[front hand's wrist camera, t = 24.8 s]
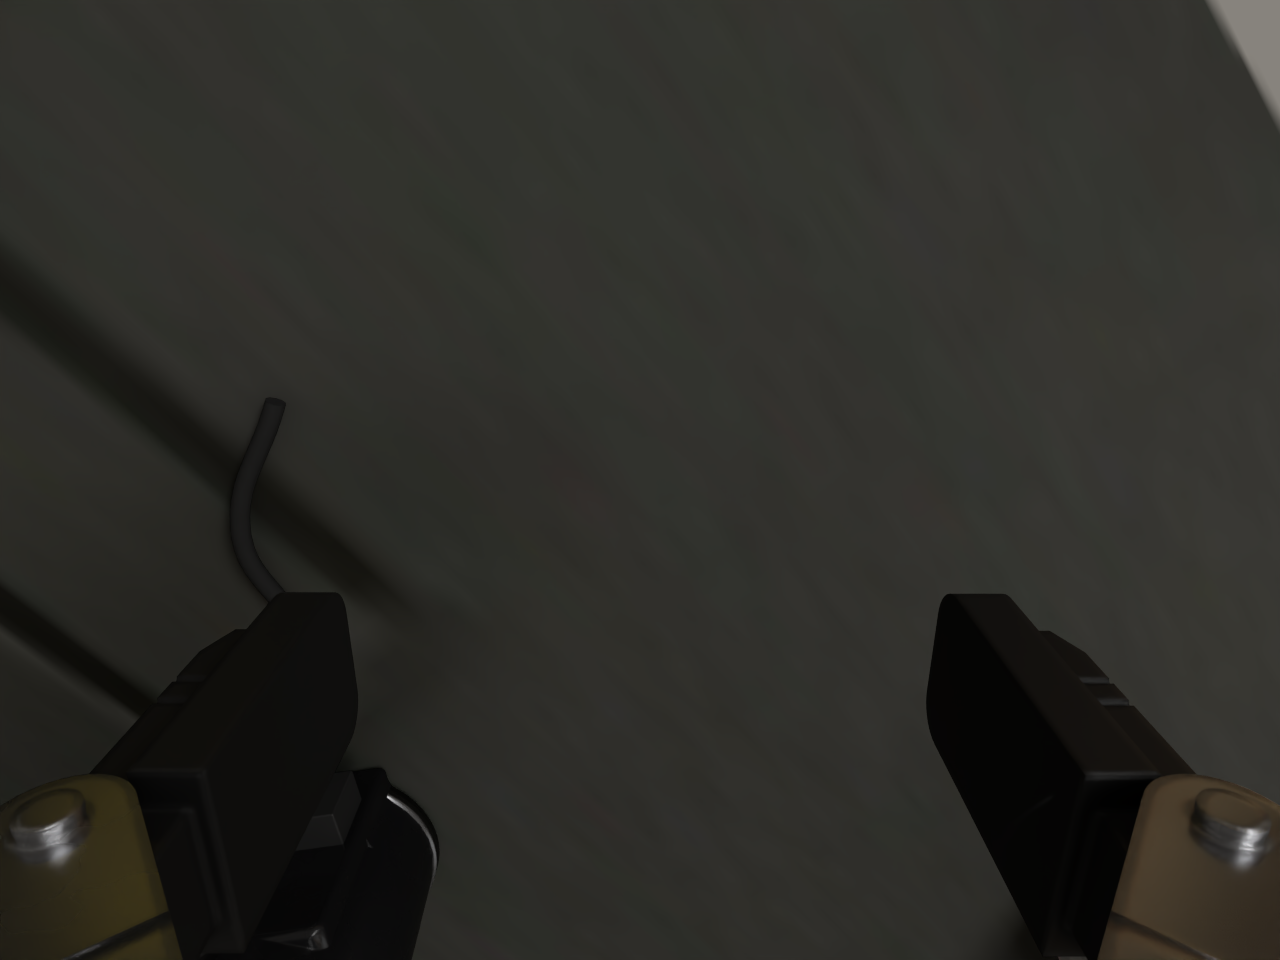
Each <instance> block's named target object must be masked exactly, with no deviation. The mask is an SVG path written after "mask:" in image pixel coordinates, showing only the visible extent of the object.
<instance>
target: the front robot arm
mask: <svg viewBox="0 0 1280 960" xmlns="http://www.w3.org/2000/svg"><path fill="white" fill-rule="evenodd" d="M285 405H286V403H285V402H283V401H282V400H279V399H276V398H266V400H265V403H264V407H263V410H262V413H261V416H260V419H259V422H258V425H257V427H256V430H255V432H254V435H253V437H252V440H251V442H250V444H249V447H248V449H247V452H246V454H245V456H244V459H243V461H242V464H241V466H240V469H239V472H238V475H237V478H236V481H235V485H234V489H233V494H232V499H231V508H230V529H231V538H232V543H233V547H234V551H235V554H236V556H237V559H238V561H239V563H240V565H241V567H242V569H243V570H244V572H245V574H246V575H247V577H248V578H249V579H250V581H251V582H252V583H253V585H254V586H255V587H256V588H257V589H258V591H259V592H260V593H261V594H262V595H263V596H264V597H265V599H266V600H267V601H268V602H269V603H268V605H267V606H266V607H265V608H264V609H263V611H262V612H261V613H260V614H259V615H258V616H257V618H256V619H255V620H254V621H253V622H252V624H251V625H250V626H249V627H248V628H247V629H235V630H234V631H232V632H231V633H229V634H227V635H226V636H224V637H222V638H221V639H219V640H217V641H216V642H214V643H213V644H211V645H209V646H208V647H206V648H204V649H203V650H201V651H200V652H199V653H198V654H197V655H196V656H195V657H194V658H193V659H192V661H191V662H190V663H189V664H188V665H187V666H186V667H185V668H184V669H183V670H182V672H181V673H180V674H179V675H178V676H177V681H176V682H172V683H171V684H170V685H169V686H168V687H167V688H166V689H165V690H164V692H163V693H162V694H161V695H160V696H159V697H158V701H157V704H152V705H151V706H150V707H149V708H148V709H147V710H146V711H145V713H144V714H143V715H142V716H141V717H140V718H139V719H138V720H137V721H136V722H135V724H134V725H133V726H132V727H131V728H130V729H129V730H128V731H127V732H126V734H125V735H124V736H123V737H122V738H121V739H120V740H119V741H118V742H117V743H116V745H115V746H114V747H113V748H112V749H111V750H110V751H109V752H108V753H107V755H106V756H105V757H104V758H103V759H102V760H101V761H100V762H99V763H98V764H97V766H96V767H95V768H94V769H93V770H92V771H91V772H90V773H89V774H85V775H77V776H72V777H67V778H63V779H59V780H56V781H52V782H49V783H46V784H43V785H41V786H38V787H36V788H33V789H31V790H29V791H27V792H25V793H22V794H20V795H18V796H16V797H15V798H13V799H11V800H9V801H8V802H6V803H4V804H3V805H1V806H0V960H412V956H413V952H414V948H415V944H416V941H417V937H418V933H419V929H420V924H421V920H422V916H423V912H424V908H425V904H426V900H427V896H428V892H429V890H430V888H431V886H432V883H433V881H434V877H435V874H436V870H437V866H438V861H439V842H438V838H437V834H436V831H435V829H434V827H433V825H432V823H431V821H430V819H429V818H428V816H427V815H426V814H425V812H424V811H423V810H422V809H421V808H420V807H419V806H418V805H417V804H416V803H415V802H414V801H413V800H412V799H411V798H409V797H408V796H407V795H405V794H404V793H402V792H401V791H399V790H397V789H396V788H394V787H392V786H391V784H390V783H389V781H388V778H387V775H386V772H385V771H384V770H383V769H381V768H376V769H369V770H361V771H354V772H352V771H345V772H338V773H335V771H336V769H337V767H338V765H339V763H340V761H341V759H342V757H343V755H344V753H345V751H346V749H347V747H348V745H349V743H350V741H351V738H352V736H353V733H354V729H355V725H356V719H357V711H358V692H357V684H356V677H355V670H354V663H353V656H352V649H351V642H350V635H349V628H348V621H347V614H346V608H345V604H344V601H343V599H342V597H341V596H340V595H339V594H338V593H336V592H285V591H284V590H283V589H282V587H281V586H280V585H279V584H278V583H277V582H276V581H275V579H274V578H273V577H272V576H271V575H270V573H269V572H268V571H267V569H266V568H265V566H264V565H263V563H262V562H261V560H260V558H259V556H258V555H257V552H256V550H255V547H254V544H253V540H252V536H251V527H250V506H251V500H252V495H253V491H254V488H255V484H256V481H257V479H258V476H259V473H260V471H261V469H262V466H263V464H264V461H265V459H266V457H267V455H268V452H269V450H270V448H271V445H272V443H273V440H274V438H275V435H276V433H277V430H278V427H279V425H280V422H281V419H282V416H283V412H284V409H285ZM926 709H927V719H928V725H929V729H930V733H931V736H932V739H933V741H934V744H935V746H936V748H937V750H938V752H939V754H940V756H941V757H942V759H943V761H944V763H945V765H946V767H947V769H948V771H949V773H950V775H951V777H952V779H953V781H954V783H955V785H956V787H957V789H958V791H959V793H960V795H961V797H962V799H963V801H964V803H965V805H966V807H967V809H968V811H969V813H970V815H971V816H972V818H973V820H974V822H975V824H976V826H977V828H978V830H979V832H980V834H981V836H982V838H983V840H984V842H985V844H986V846H987V848H988V850H989V852H990V854H991V856H992V858H993V860H994V862H995V864H996V866H997V868H998V870H999V872H1000V874H1001V875H1002V877H1003V879H1004V881H1005V883H1006V885H1007V887H1008V889H1009V891H1010V893H1011V895H1012V897H1013V899H1014V901H1015V903H1016V905H1017V907H1018V909H1019V911H1020V913H1021V915H1022V917H1023V919H1024V921H1025V923H1026V925H1027V927H1028V929H1029V931H1030V933H1031V934H1032V936H1033V938H1034V940H1035V942H1036V944H1037V946H1038V948H1039V950H1040V952H1041V954H1042V956H1043V957H1086V958H1087V960H1280V806H1279V805H1277V804H1276V803H1274V802H1272V801H1271V800H1269V799H1267V798H1265V797H1264V796H1262V795H1260V794H1258V793H1255V792H1253V791H1251V790H1249V789H1247V788H1244V787H1242V786H1239V785H1237V784H1234V783H1231V782H1228V781H1224V780H1221V779H1217V778H1213V777H1208V776H1203V775H1197V774H1196V773H1195V772H1194V771H1193V770H1192V769H1191V768H1190V767H1189V766H1188V765H1187V763H1186V762H1185V761H1184V760H1183V759H1182V758H1181V757H1180V756H1179V755H1178V754H1177V753H1176V751H1175V750H1174V749H1173V748H1172V747H1171V746H1170V745H1169V744H1168V743H1167V742H1166V740H1165V739H1164V738H1163V737H1162V736H1161V735H1160V734H1159V733H1158V732H1157V731H1156V730H1155V728H1154V727H1153V726H1152V725H1151V724H1150V723H1149V722H1148V721H1147V720H1146V719H1145V717H1144V716H1143V715H1142V714H1141V713H1140V712H1139V711H1138V710H1137V709H1136V708H1135V707H1134V706H1129V700H1128V699H1127V698H1126V697H1125V696H1124V694H1123V693H1122V692H1121V691H1120V690H1119V689H1118V688H1117V687H1116V686H1115V685H1114V684H1110V683H1109V678H1108V677H1107V676H1106V675H1105V674H1104V673H1103V671H1102V670H1101V669H1100V668H1099V667H1098V666H1097V665H1096V664H1095V663H1094V662H1093V660H1092V659H1091V658H1090V657H1089V656H1088V655H1087V654H1086V653H1085V652H1083V651H1082V650H1080V649H1078V648H1077V647H1075V646H1073V645H1072V644H1070V643H1069V642H1067V641H1065V640H1064V639H1062V638H1060V637H1059V636H1057V635H1055V634H1054V633H1052V632H1051V631H1038V629H1037V628H1036V627H1035V626H1034V625H1033V623H1032V622H1031V621H1030V620H1029V619H1028V618H1027V616H1026V615H1025V614H1024V613H1023V612H1022V611H1021V609H1020V608H1019V607H1018V606H1017V605H1016V604H1015V602H1014V601H1013V600H1012V599H1011V598H1010V597H1009V596H1008V595H1006V594H947V595H946V596H944V598H943V599H942V602H941V604H940V607H939V612H938V619H937V626H936V632H935V639H934V646H933V653H932V660H931V667H930V674H929V681H928V688H927V697H926Z"/></svg>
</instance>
